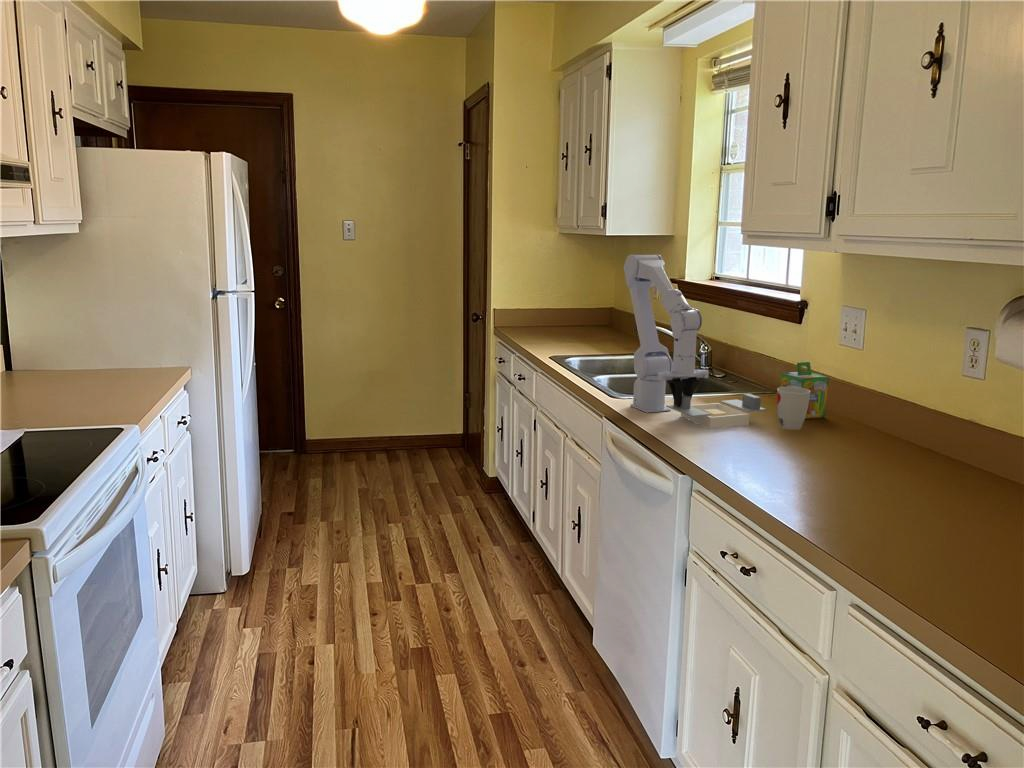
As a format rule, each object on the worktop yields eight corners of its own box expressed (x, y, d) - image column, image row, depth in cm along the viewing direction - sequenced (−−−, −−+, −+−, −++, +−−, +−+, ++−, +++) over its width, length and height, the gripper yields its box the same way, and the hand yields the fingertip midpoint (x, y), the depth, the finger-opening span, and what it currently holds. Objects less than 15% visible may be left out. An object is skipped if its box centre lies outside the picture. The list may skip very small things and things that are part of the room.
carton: (680, 416, 221) (681, 406, 220) (717, 413, 225) (718, 402, 224) (710, 428, 208) (711, 417, 207) (749, 425, 212) (749, 414, 211)
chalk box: (800, 420, 218) (804, 366, 215) (777, 413, 226) (781, 361, 223) (826, 417, 221) (831, 364, 218) (803, 410, 229) (807, 359, 226)
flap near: (666, 406, 217) (666, 393, 217) (684, 405, 219) (684, 392, 219) (692, 417, 206) (692, 403, 205) (710, 415, 208) (711, 401, 207)
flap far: (720, 402, 224) (721, 389, 223) (737, 400, 226) (738, 388, 225) (748, 412, 212) (749, 398, 211) (765, 410, 214) (766, 397, 213)
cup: (779, 422, 216) (782, 385, 214) (810, 426, 211) (814, 389, 209) (770, 428, 209) (773, 390, 207) (802, 432, 205) (805, 394, 203)
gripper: (668, 359, 206) (666, 410, 209) (716, 356, 212) (713, 406, 214) (654, 354, 213) (652, 404, 216) (701, 352, 218) (698, 401, 221)
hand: (681, 405), depth 215 cm, fingers closed on flap near, 2 cm apart
